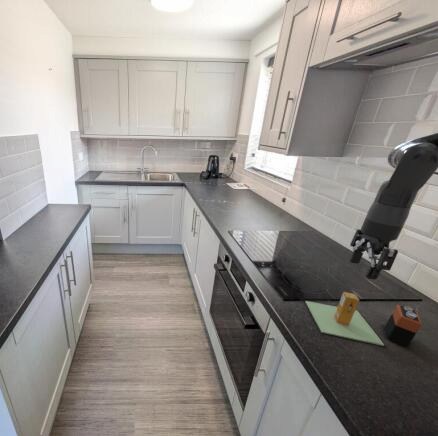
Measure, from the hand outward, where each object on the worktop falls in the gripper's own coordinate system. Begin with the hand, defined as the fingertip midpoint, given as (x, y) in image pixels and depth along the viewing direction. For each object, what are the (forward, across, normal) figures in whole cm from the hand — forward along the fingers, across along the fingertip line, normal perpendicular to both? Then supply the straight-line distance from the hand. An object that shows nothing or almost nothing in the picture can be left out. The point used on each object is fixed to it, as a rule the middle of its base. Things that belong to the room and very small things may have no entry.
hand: (361, 270), depth 68 cm
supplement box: (+19, 0, 0) cm, 19 cm away
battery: (+20, -2, -14) cm, 24 cm away
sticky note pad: (+20, 0, 0) cm, 20 cm away
